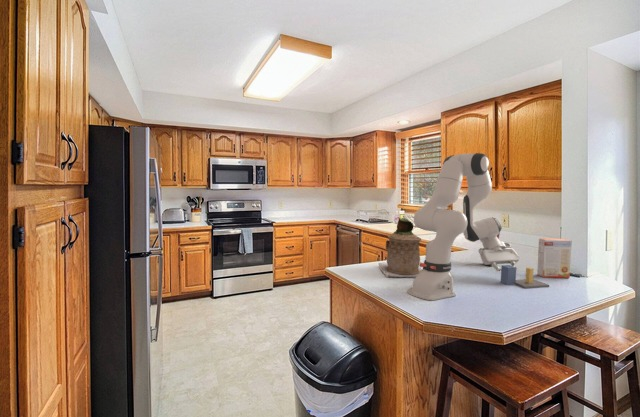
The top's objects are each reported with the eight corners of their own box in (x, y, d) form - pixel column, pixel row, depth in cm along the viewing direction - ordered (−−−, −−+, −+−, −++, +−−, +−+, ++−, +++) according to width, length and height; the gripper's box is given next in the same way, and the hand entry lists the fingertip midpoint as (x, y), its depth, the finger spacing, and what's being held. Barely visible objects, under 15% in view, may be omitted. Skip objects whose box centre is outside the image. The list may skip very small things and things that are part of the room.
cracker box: (562, 275, 177) (565, 238, 175) (570, 278, 171) (572, 240, 169) (536, 274, 178) (538, 237, 177) (542, 277, 172) (545, 239, 171)
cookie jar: (430, 278, 168) (432, 219, 166) (384, 278, 169) (386, 219, 166) (417, 266, 193) (419, 214, 190) (377, 266, 194) (378, 214, 191)
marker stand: (525, 288, 154) (526, 271, 153) (509, 282, 164) (510, 266, 163) (549, 286, 157) (550, 270, 156) (532, 280, 166) (533, 264, 166)
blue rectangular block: (507, 285, 159) (508, 267, 158) (500, 282, 163) (501, 265, 163) (515, 284, 160) (516, 267, 159) (508, 281, 164) (509, 265, 164)
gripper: (480, 245, 166) (493, 268, 158) (513, 243, 171) (527, 266, 162) (474, 251, 171) (486, 274, 162) (506, 250, 175) (519, 272, 167)
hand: (507, 270), depth 162 cm, fingers open, 8 cm apart
